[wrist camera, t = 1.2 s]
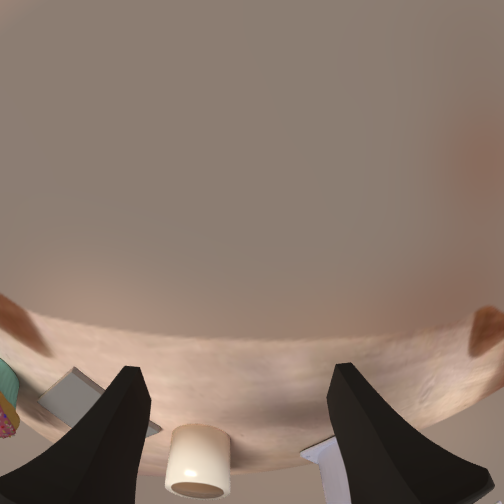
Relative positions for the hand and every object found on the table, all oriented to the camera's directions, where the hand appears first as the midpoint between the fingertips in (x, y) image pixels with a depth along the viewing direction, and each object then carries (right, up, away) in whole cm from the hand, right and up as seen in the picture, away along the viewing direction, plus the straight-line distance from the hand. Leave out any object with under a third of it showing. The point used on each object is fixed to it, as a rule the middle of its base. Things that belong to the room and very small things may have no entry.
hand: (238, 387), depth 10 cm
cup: (-4, -12, +13) cm, 18 cm away
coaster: (-14, -10, +11) cm, 20 cm away
